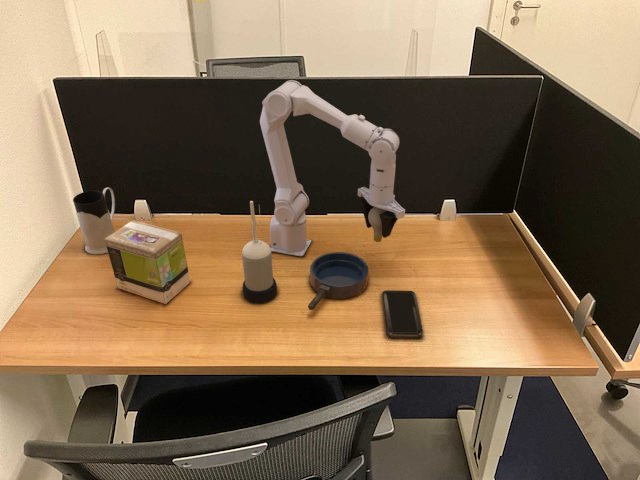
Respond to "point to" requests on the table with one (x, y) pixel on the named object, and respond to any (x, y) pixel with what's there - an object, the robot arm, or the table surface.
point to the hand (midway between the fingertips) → (378, 231)
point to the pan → (339, 274)
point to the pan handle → (319, 296)
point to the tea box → (148, 260)
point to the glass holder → (94, 219)
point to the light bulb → (376, 222)
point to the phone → (401, 314)
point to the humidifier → (258, 268)
